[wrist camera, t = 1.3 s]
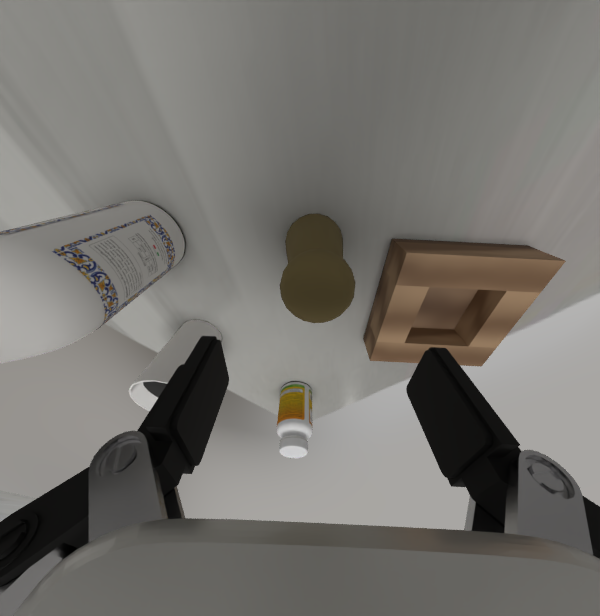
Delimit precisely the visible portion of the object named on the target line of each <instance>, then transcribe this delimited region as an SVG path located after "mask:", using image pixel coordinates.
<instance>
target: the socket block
mask: <svg viewBox="0 0 600 616" xmlns="http://www.w3.org/2000/svg"><path fill="white" fill-rule="evenodd" d="M564 263H565V260H562V259H560V258H557V257H555V256H552V255H550V254H547V253H545V252H542V251H540V250H537V249H535V248H532V247H530V246H524V245H505V244H485V243H466V242H447V241H428V240H408V239H392V241H391V244H390V248H389V251H388V255H387V258H386V262H385V265H384V269H383V272H382V276H381V279H380V282H379V286H378V289H377V293H376V296H375V300H374V303H373V307H372V310H371V314H370V317H369V321H368V324H367V327H366V331H365V334H364V338H363V339H364V342H365V346H366V349H367V352H368V355H369V359H370V361H388V362H407V363H419V362H420V360H421V358H422V356H423V354H424V352H425V351H426V350H428V349H429V348H430V347H439V348H446V349H447V350H448V351H449V352H450V353H451V355H452V356H453V357H454V359H455V360H456V361H457V363H458V364H459V365H466V366H482V365H483V364H484V363H485V361H486V360H487V359H488V358H489V356H490V355H491V354H492V353H493V351H494V350H495V349H496V348H497V346H498V345H499V344H500V343H501V341H502V340H503V339H504V338H505V336H506V335H507V334H508V333H509V331H510V330H511V329H512V328H513V326H514V325H515V324H516V323H517V321H518V320H519V319H520V318H521V316H522V315H523V314H524V313H525V311H526V310H527V309H528V308H529V306H530V305H531V304H532V303H533V301H534V300H535V299H536V298H537V296H538V295H539V294H540V293H541V291H542V290H543V289H544V288H545V286H546V285H547V284H548V283H549V281H550V280H551V279H552V278H553V276H554V275H555V274H556V273H557V271H558V270H559V269H560V268H561V266H562V265H563V264H564Z"/></svg>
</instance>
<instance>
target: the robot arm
mask: <svg viewBox="0 0 600 616" xmlns="http://www.w3.org/2000/svg"><path fill="white" fill-rule="evenodd" d="M228 383H229V376H228V372H227V367H226V363H225V358H224V354H223V349H222V345H221V341H220V340H217V337H216V336H201V338H200V339H199V341H198V342H197V344H196V346H195V347H194V349H193V351H192V352H191V354H190V355H189V357H188V359H187V360H186V362H185V364H181V365H180V366H179V367H178V368H177V369H176V371H175V372H174V374H173V376H172V377H171V379H170V380H169V382H168V383H167V385H166V387H165V388H164V390H163V391H162V393H161V394H160V396H159V398H158V399H157V401H156V402H155V404H154V405H153V407H152V409H151V410H150V412H149V414H148V415H147V417H146V418H145V420H144V421H143V423H142V425H141V426H140V428H139V429H138V431H128V432H124V433H122V434H119V435H117V436H115V437H114V438H112V439H111V440H109V441H108V442H107V443H106V444H104V445H103V446H102V447H101V448H100V449H99V451H98V452H97V453H96V454H95V456H94V458H93V460H92V461H91V464H90V467H88V468H86V469H85V470H83V471H82V472H80V473H79V474H77V475H75V476H73V477H72V478H70V479H68V480H67V481H65V482H63V483H62V484H60V485H59V486H57V487H55V488H54V489H52V490H50V491H49V492H47V493H45V494H44V495H42V496H41V497H39V498H37V499H36V500H34V501H32V502H31V503H29V504H27V505H26V506H24V507H22V508H21V509H19V510H18V511H16V512H14V513H13V514H11V515H10V516H8V517H7V518H5V519H4V520H3V521H1V522H0V616H600V507H599V506H598V505H596V504H595V503H593V502H591V501H590V500H588V499H587V498H585V497H584V496H582V493H581V491H580V488H579V486H578V485H577V483H576V482H575V480H574V479H573V478H572V476H570V474H569V473H568V472H567V471H566V470H565V469H564V468H563V467H561V466H560V465H559V464H558V463H557V462H555V461H554V460H552V459H551V458H549V457H548V456H546V455H544V454H541V453H539V452H536V451H533V450H524V451H522V452H521V450H520V449H519V448H518V446H519V445H520V444H519V443H518V442H517V440H516V439H515V438H514V436H513V435H512V434H511V433H510V431H509V430H508V428H507V427H506V426H505V425H504V423H503V422H502V420H501V419H500V418H499V417H498V415H497V414H496V413H495V412H494V410H493V409H492V407H491V406H490V405H489V403H488V402H487V401H486V400H485V398H484V397H483V395H482V394H481V393H480V392H479V390H478V389H477V388H476V386H475V385H474V384H473V383H472V381H471V380H470V378H469V377H468V376H467V374H466V373H465V372H464V371H463V369H462V368H461V367H460V365H459V364H458V363H457V361H456V360H455V359H454V357H453V356H452V355H451V353H450V352H449V351H448V350H447V349H446V348H439V347H430V348H429V349H428V350H426V351H425V352H424V354H423V356H422V358H421V360H420V362H419V364H418V366H417V368H416V370H415V372H414V374H413V376H412V378H411V380H410V381H409V384H408V385H407V394H408V397H409V399H410V401H411V404H412V406H413V408H414V410H415V413H416V415H417V417H418V420H419V422H420V424H421V426H422V429H423V431H424V433H425V436H426V438H427V440H428V442H429V445H430V447H431V449H432V452H433V454H434V456H435V458H436V461H437V463H438V465H439V468H440V470H441V472H442V473H443V475H444V476H445V477H447V478H448V480H449V483H450V485H451V486H456V487H466V488H467V490H468V492H469V494H470V499H469V505H468V511H467V517H466V523H465V529H464V530H446V529H427V528H407V527H389V526H368V525H347V524H325V523H304V522H280V521H256V520H233V519H186V518H185V516H184V512H183V508H182V504H181V500H180V497H179V493H178V489H177V485H178V484H179V481H180V479H181V476H182V474H183V473H185V474H192V472H193V470H194V467H195V466H197V465H199V463H200V462H201V459H202V457H203V454H204V451H205V448H206V445H207V443H208V440H209V437H210V434H211V431H212V429H213V426H214V423H215V420H216V417H217V414H218V412H219V409H220V406H221V403H222V400H223V397H224V395H225V392H226V389H227V386H228Z"/></svg>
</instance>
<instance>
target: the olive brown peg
mask: <svg viewBox="0 0 600 616" xmlns="http://www.w3.org/2000/svg"><path fill="white" fill-rule="evenodd" d="M285 242H286V252H287V259H288V265H287V266H286V268H285V269H284V271H283V274H282V279H281V283H280V290H281V297H282V300H283V302H284V304H285V306H286V308H287V309H288V310H289V311H290V312H291V313H292V314H293V315H295V316H296V317H298V318H300V319H302V320H303V321H307V322H312V323H323V322H327V321H331V320H333V319H335V318H337V317H338V316H340V315H341V314H342V313H343V312H344V311H345V310H346V309H347V308H348V307H349V306H350V304H351V302H352V300H353V298H354V290H355V280H354V276H353V272H352V270H351V268H350V267H349V265H348V264H347V263H346V261H345V260H344V259H343V238H342V234H341V231H340V229H339V227H338V226H337V224H336V223H335V222H334V221H333V220H332V219H330V218H329V217H328V216H324V215H321V214H308V215H305V216H303V217H300V218H299V219H298V220H296V221H295V222H294V223H293V224H292V225H291V227H290V229H289V230H288V232H287V236H286V241H285Z"/></svg>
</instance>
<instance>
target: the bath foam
mask: <svg viewBox="0 0 600 616" xmlns="http://www.w3.org/2000/svg"><path fill="white" fill-rule="evenodd" d="M184 249H185V243H184V238H183V235H182V232H181V230H180V228H179V227H178V225H177V224H176V222H175V221H174V220H173V219H172V218H171V217H170V216H169V215H168V214H167V213H166V212H165V211H163V210H162V209H160V208H159V207H157V206H155V205H153V204H150V203H147V202H143V201H128V202H123V203H119V204H114V205H110V206H106V207H102V208H97V209H93V210H89V211H85V212H81V213H77V214H72V215H68V216H64V217H60V218H56V219H52V220H47V221H43V222H39V223H35V224H31V225H27V226H22V227H18V228H14V229H10V230H6V231H2V232H0V364H1V363H6V362H10V361H15V360H20V359H25V358H29V357H33V356H37V355H41V354H45V353H48V352H51V351H55V350H58V349H60V348H63V347H65V346H68V345H70V344H72V343H74V342H76V341H78V340H80V339H82V338H84V337H85V336H87V335H89V334H90V333H92V332H93V331H95V330H97V329H98V328H100V327H101V326H102V325H103V324H104V323H106V322H107V321H108V320H109V319H111V318H112V317H113V316H114V315H115V314H117V313H118V312H119V311H120V310H122V309H123V308H124V307H125V306H127V305H128V304H129V303H130V302H131V301H133V300H134V299H135V298H136V297H138V296H139V295H140V294H141V293H142V292H144V291H145V290H146V289H147V288H149V287H150V286H151V285H152V284H154V283H155V282H156V281H157V280H158V279H160V278H161V277H162V276H163V275H165V274H166V273H167V272H168V271H169V270H170V269H172V268H173V267H174V266H175V265H176V264H178V263H179V262H180V260H181V259H182V257H183V254H184Z"/></svg>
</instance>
